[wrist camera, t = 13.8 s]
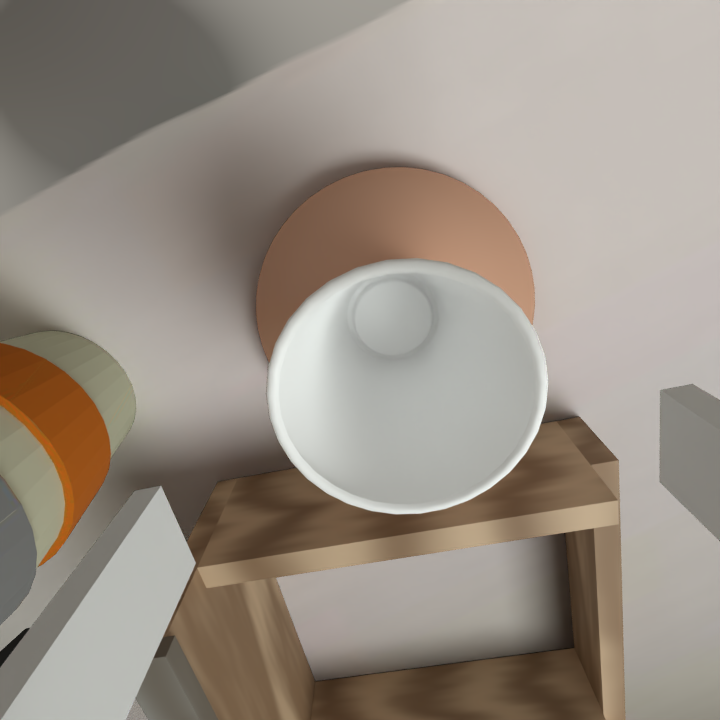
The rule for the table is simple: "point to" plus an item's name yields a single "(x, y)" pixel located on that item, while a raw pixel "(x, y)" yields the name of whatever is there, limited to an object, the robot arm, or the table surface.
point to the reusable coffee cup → (53, 446)
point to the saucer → (387, 239)
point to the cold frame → (380, 543)
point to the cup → (407, 386)
